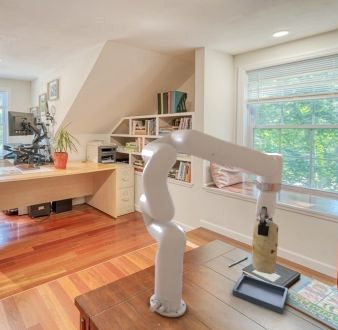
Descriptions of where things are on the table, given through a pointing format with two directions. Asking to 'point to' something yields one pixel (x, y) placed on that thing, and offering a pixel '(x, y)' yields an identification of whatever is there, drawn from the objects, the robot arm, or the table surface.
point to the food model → (265, 248)
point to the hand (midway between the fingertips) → (264, 232)
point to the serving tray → (261, 293)
